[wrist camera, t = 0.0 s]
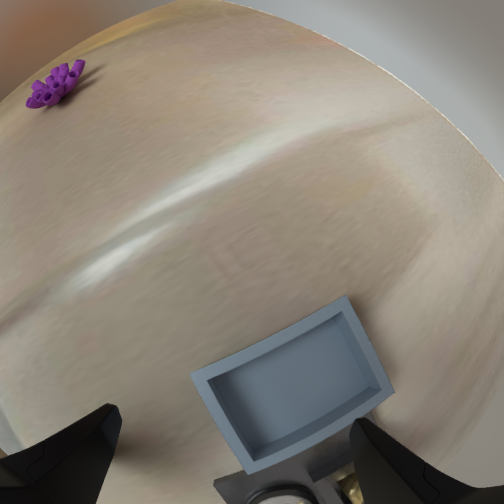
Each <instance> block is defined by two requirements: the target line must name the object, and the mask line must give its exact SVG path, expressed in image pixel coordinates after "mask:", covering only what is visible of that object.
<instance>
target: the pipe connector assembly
mask: <svg viewBox="0 0 504 504" xmlns="http://www.w3.org/2000/svg"><path fill="white" fill-rule="evenodd" d="M84 65H85V60H76V61H75V63H74V65H73V67H72V69H71V71H70V72H69V67H68V63H65V64H61V65H60V66H59V67H56V68H54V69H52V70H51V75H50V76H48V77H47V78H46V79H45V81H46V84H47V85H46V84H44V83H42V82H41V81H39V80H36V81H35V82H34V83H33V85H32V87H31V88H32V89H33V90H34V92H33V93H32V95H31V96H32V97H29V98H28V99H27V101H26V107H28V108H33V109H36V108H41V107H43V106H46V105H49V106H52V105H55V104H56V103H58V102H59V100H60V99H61V98H62V97H63V96H65V95H66V94H67V93H69V92H70V91H71V90H72V89H73V88H74V87H75V85H76V84H77V81H78V78H79V76H80V75H81V73H82V71H83V69H84Z"/></svg>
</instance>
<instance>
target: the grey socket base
mask: <svg viewBox="0 0 504 504" xmlns="http://www.w3.org/2000/svg"><path fill="white" fill-rule="evenodd" d="M362 417H366V418H368V419H369V420H370V421H372V422H373V423H374V424H375V425H377V424H376V422H375V419H374V417H373V415H372V413H371V411H369V412H367V413H366V414H365V415H363V416H362ZM360 418H361V417H360ZM352 424H353V422H352V423H351V424H349V425H348V426H346V427H345V428H343V429H341V430H340V431H338V432H336V433H335V434H333V435H331V436H330V437H328V438H326V439H324V440H322V441H321V442H319V443H317V444H315V445H313V446H311V447H310V448H308V449H306V450H304V451H302V452H300V453H298V454H296V455H294V456H292V457H289V458H287V459H285V460H283V461H281V462H279V463H276V464H274V465H272V466H269V467H267V468H264V469H262V470H260V471H257V472H254V473H252V474H249V475H248V474H247V473H246V471H245V470H243V471H240V472H237V473H234V474H231V475H228V476H225V477H222V478H219V479H216V480H214V484H213V486H214V487H215V488H216V490H217V491H218V492H219V494H220V495H221V496H222V498H223V499H224V500H225V502H226V503H227V504H353V503H352V502H351V501H350V499H349V498H348V497H347V496H346V494H345V493H344V492H343V490H342V489H341V488H340V487H339V485H338V484H337V481H339V480H341V479H343V478H345V477H346V476H348V475H350V474H351V473H353V472H355V468H354V463H353V457H352V451H351V444H350V438H349V432H350V429H351V427H352Z"/></svg>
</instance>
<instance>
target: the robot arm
mask: <svg viewBox="0 0 504 504" xmlns="http://www.w3.org/2000/svg"><path fill="white" fill-rule="evenodd" d="M121 425H122V418H121V415H120V413H119V410H118V407H117V406H116V405H113V404H109V403H107V404H105V405H103V406H101V407H100V408H98V409H96V410H95V411H93V412H92V413H90V414H88V415H87V416H85V417H83V418H82V419H80V420H78V421H76V422H75V423H73V424H71V425H70V426H68V427H66V428H64V429H63V430H61V431H59V432H57V433H56V434H54V435H52V436H50V437H48V438H47V439H45V440H43V441H41V442H39V443H37V444H35V445H33V446H31V447H29V448H27V449H25V450H22V451H20V452H17V453H14V454H12V455H9V456H6V457H3V458H0V504H96V502H97V499H98V496H99V493H100V490H101V487H102V485H103V482H104V479H105V477H106V474H107V471H108V469H109V466H110V463H111V461H112V458H113V455H114V452H115V449H116V445H117V441H118V437H119V433H120V429H121ZM349 438H350V444H351V451H352V457H353V463H354V468H355V472H356V476H357V479H358V483H359V486H360V490H361V493H362V497H363V501H364V504H504V485H502V486H495V487H486V488H476V487H471V486H469V485H466V484H464V483H462V482H460V481H458V480H456V479H454V478H452V477H450V476H448V475H446V474H444V473H442V472H441V471H439V470H437V469H436V468H434V467H433V466H431V465H430V464H428V463H427V462H425V461H424V460H422V459H421V458H420V457H418V456H417V455H415V454H414V453H413V452H411V451H410V450H409V449H407V448H406V447H404V446H403V445H402V444H400V443H399V442H398V441H396V440H395V439H394V438H392V437H391V436H390V435H388V434H387V433H386V432H384V431H383V430H382V429H381V428H379V427H378V426H377V425H375V424H374V423H373V422H372V421H370V420H369V419H368V418H366V417H361V418H356V419H355V420H354V422H353V424H352V427H351V429H350V432H349Z"/></svg>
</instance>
